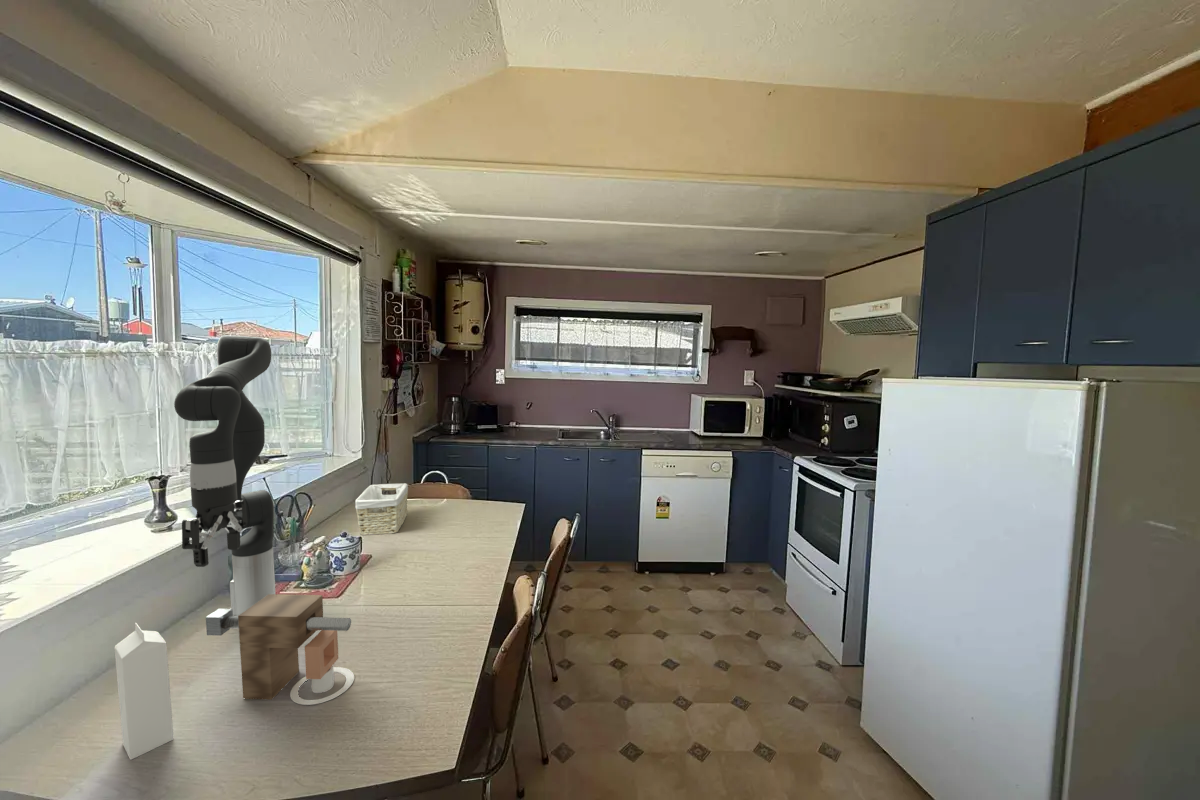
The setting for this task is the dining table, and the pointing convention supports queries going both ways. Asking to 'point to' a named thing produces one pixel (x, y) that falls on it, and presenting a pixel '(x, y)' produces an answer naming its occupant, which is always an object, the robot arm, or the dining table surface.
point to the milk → (143, 691)
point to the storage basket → (381, 509)
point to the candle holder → (323, 686)
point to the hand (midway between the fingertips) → (218, 557)
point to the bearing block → (274, 641)
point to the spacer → (321, 654)
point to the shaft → (225, 620)
